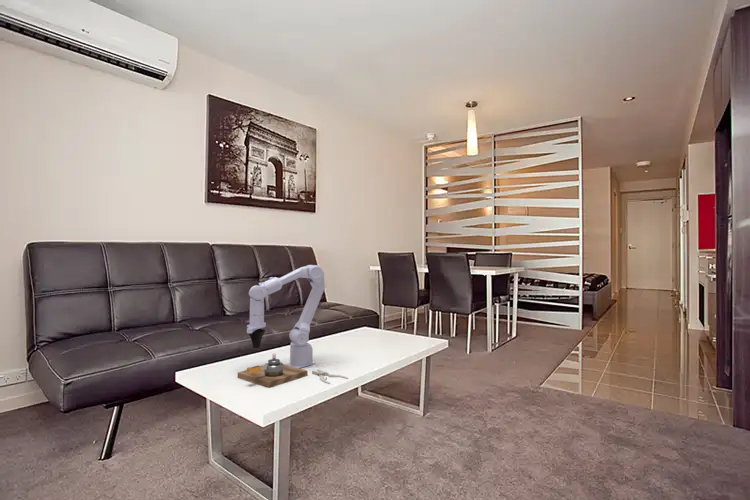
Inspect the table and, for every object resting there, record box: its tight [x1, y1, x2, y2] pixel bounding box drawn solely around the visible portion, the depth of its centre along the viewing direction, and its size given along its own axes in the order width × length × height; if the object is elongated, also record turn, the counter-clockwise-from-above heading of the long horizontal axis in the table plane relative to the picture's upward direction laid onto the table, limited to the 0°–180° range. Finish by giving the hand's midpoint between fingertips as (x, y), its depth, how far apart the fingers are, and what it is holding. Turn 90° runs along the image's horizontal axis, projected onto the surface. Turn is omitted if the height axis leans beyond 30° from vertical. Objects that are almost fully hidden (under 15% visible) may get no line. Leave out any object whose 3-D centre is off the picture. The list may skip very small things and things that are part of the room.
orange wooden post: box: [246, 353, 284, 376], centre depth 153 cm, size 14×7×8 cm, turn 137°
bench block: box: [237, 363, 309, 389], centre depth 160 cm, size 19×19×2 cm
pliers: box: [311, 369, 349, 385], centre depth 160 cm, size 10×2×15 cm
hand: (256, 347), depth 168 cm, fingers closed
